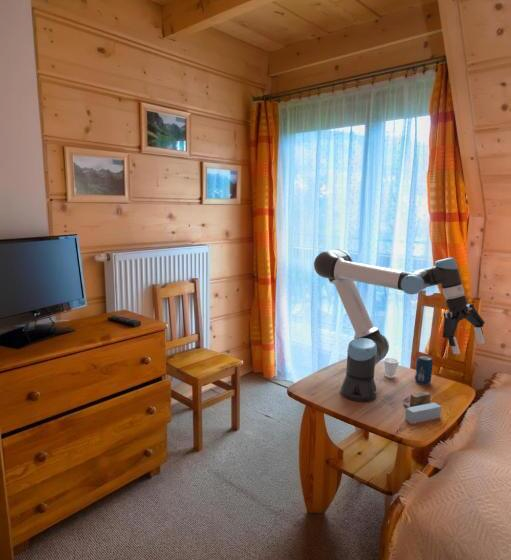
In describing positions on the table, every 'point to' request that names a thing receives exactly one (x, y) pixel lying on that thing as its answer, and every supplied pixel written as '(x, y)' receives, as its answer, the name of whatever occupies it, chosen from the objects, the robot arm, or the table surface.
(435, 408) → the bar
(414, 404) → the ridge stand
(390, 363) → the cup
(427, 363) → the soda can
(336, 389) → the table surface
